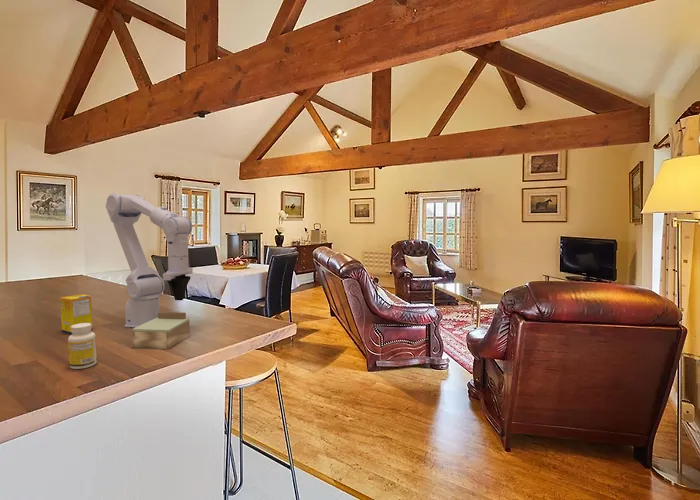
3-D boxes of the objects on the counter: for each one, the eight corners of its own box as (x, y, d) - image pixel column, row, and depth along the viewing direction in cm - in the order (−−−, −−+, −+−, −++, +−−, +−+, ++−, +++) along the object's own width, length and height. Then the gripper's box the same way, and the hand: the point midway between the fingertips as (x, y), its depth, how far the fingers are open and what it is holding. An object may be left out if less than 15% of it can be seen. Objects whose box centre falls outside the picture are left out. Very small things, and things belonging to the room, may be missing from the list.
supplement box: (81, 327, 124) (80, 293, 123) (93, 330, 121) (91, 295, 120) (61, 332, 118) (59, 296, 117) (72, 335, 116) (70, 299, 115)
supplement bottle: (78, 361, 95) (76, 322, 94) (101, 360, 95) (100, 321, 95) (63, 369, 90) (61, 328, 89) (88, 369, 90) (86, 328, 89)
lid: (132, 331, 105) (132, 322, 105) (156, 319, 117) (156, 311, 117) (168, 332, 104) (168, 323, 104) (189, 320, 116) (189, 312, 116)
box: (132, 347, 105) (132, 331, 105) (157, 334, 117) (156, 319, 117) (168, 348, 105) (168, 332, 104) (189, 335, 117) (189, 320, 116)
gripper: (179, 258, 112) (180, 305, 113) (201, 254, 126) (202, 295, 127) (155, 258, 112) (156, 304, 113) (180, 253, 126) (181, 295, 127)
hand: (179, 299), depth 120 cm, fingers closed
